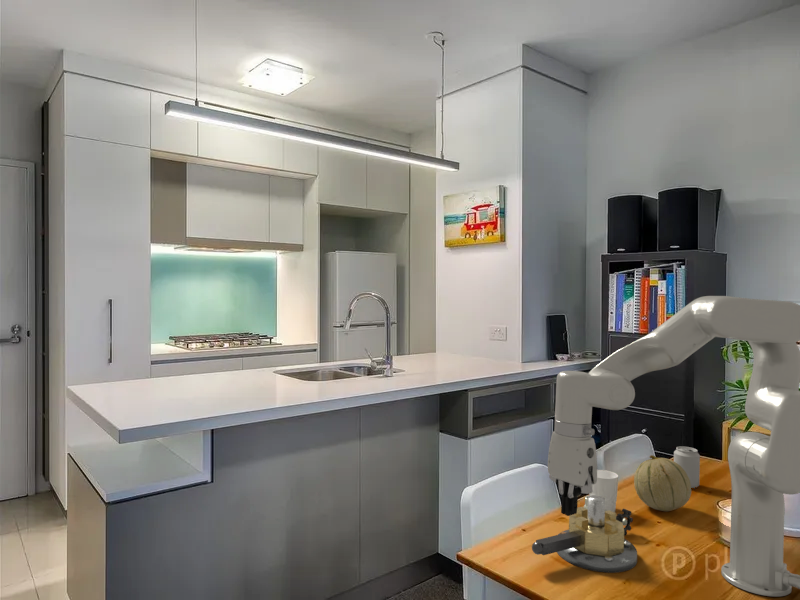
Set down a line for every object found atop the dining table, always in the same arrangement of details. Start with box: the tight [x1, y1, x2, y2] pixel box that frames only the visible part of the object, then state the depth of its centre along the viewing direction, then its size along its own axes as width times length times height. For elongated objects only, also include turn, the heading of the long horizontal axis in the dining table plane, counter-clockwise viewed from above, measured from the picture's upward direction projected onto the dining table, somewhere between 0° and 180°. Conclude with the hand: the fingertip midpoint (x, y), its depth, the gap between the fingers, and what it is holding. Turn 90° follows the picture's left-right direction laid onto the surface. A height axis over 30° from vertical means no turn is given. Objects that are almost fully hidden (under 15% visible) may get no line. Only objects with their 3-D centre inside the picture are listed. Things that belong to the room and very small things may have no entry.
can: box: [673, 446, 701, 489], centre depth 177 cm, size 8×8×12 cm
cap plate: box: [556, 494, 638, 574], centre depth 129 cm, size 18×18×13 cm
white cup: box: [588, 469, 619, 513], centre depth 156 cm, size 8×8×10 cm
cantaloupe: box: [633, 454, 692, 512], centre depth 157 cm, size 15×15×15 cm
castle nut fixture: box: [531, 506, 625, 556], centre depth 126 cm, size 25×12×7 cm, turn 117°
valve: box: [583, 495, 634, 537], centre depth 144 cm, size 7×7×12 cm
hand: (568, 513), depth 119 cm, fingers closed
